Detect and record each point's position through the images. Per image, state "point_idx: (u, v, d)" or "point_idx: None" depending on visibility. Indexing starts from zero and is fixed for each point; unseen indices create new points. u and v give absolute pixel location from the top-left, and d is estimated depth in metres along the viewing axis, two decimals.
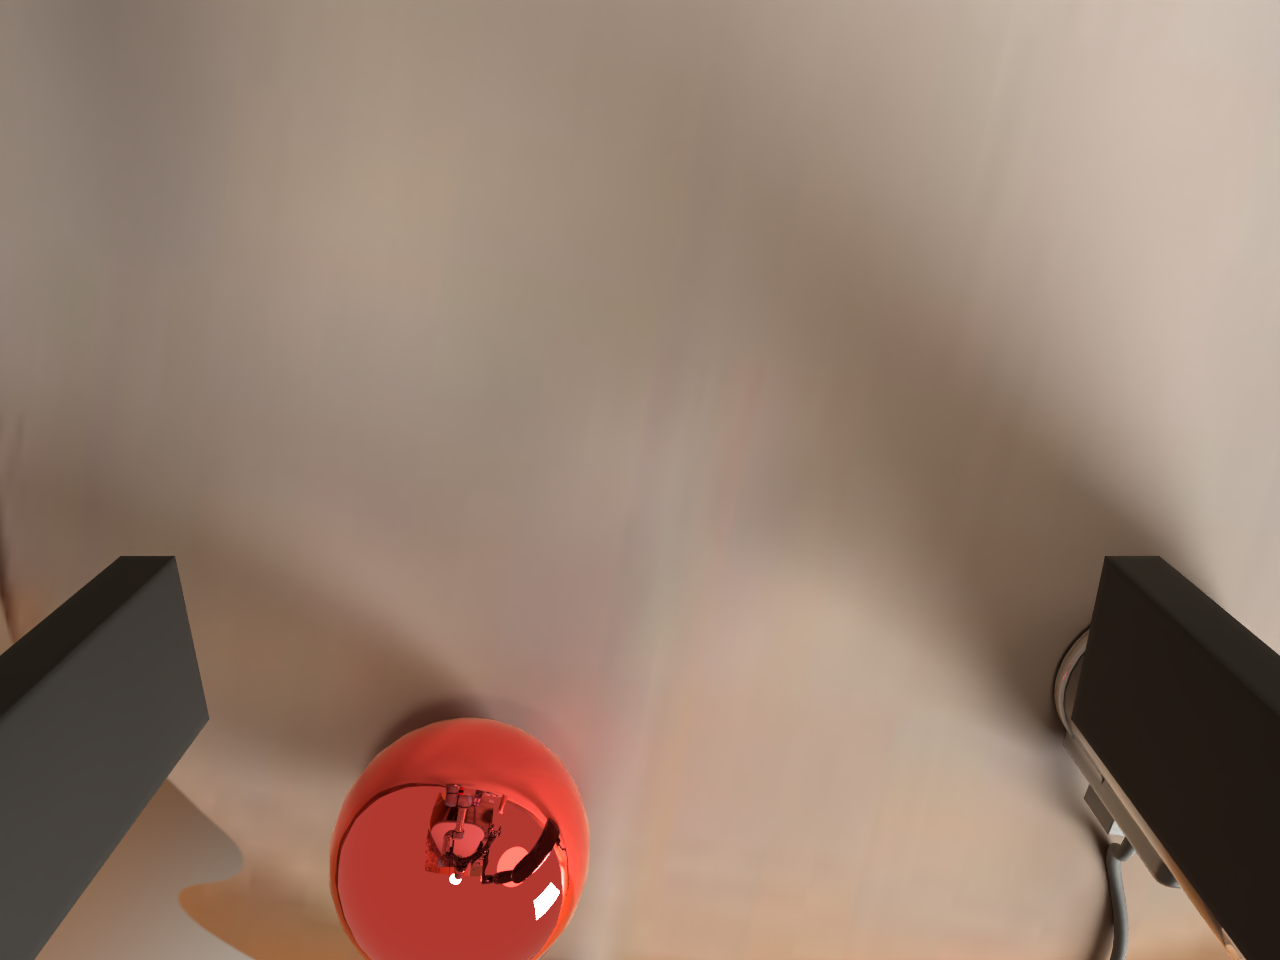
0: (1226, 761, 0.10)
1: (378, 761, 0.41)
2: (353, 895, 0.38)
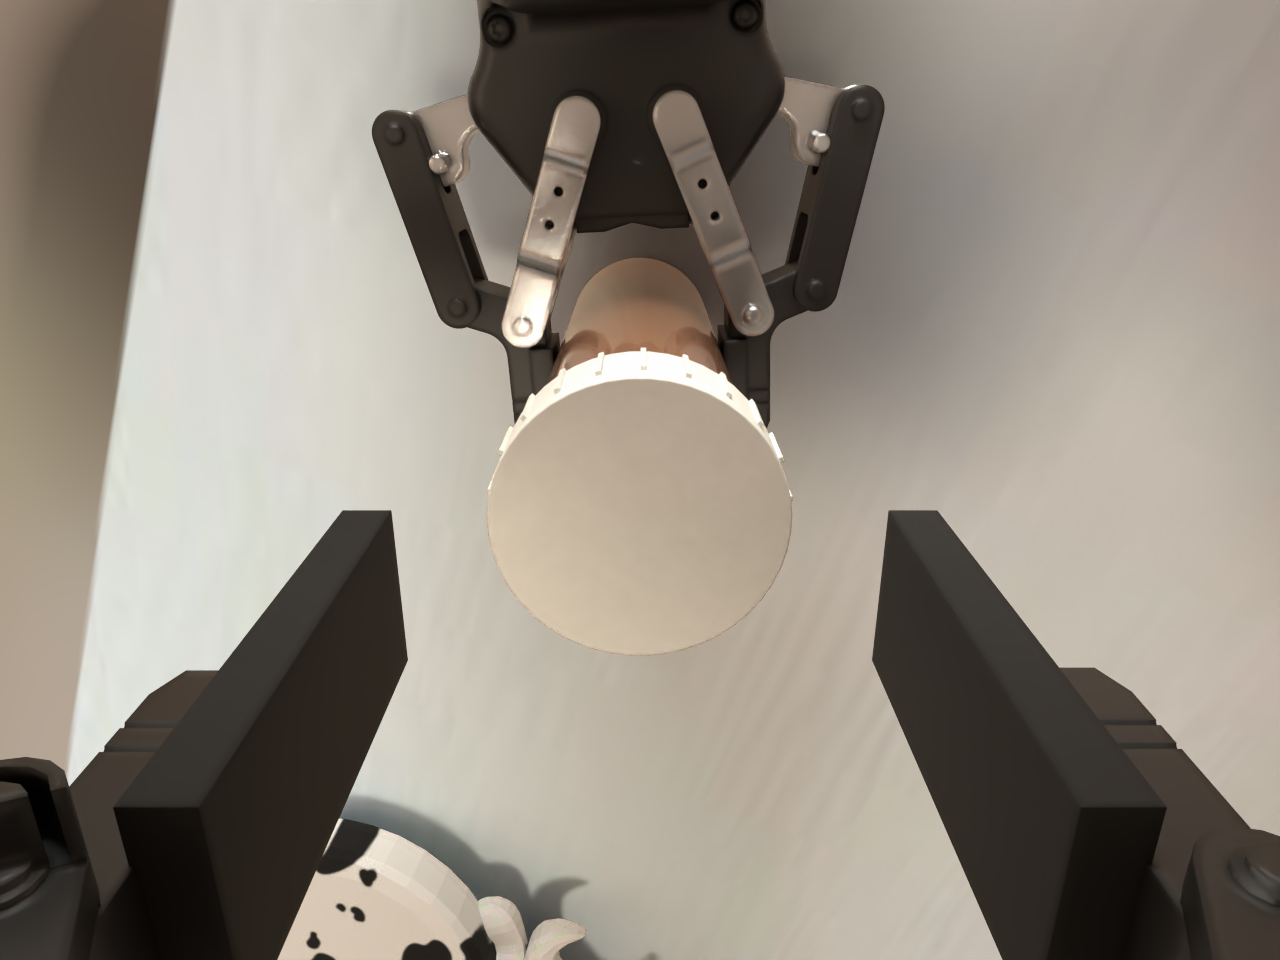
0: (945, 678, 0.11)
1: None
2: None
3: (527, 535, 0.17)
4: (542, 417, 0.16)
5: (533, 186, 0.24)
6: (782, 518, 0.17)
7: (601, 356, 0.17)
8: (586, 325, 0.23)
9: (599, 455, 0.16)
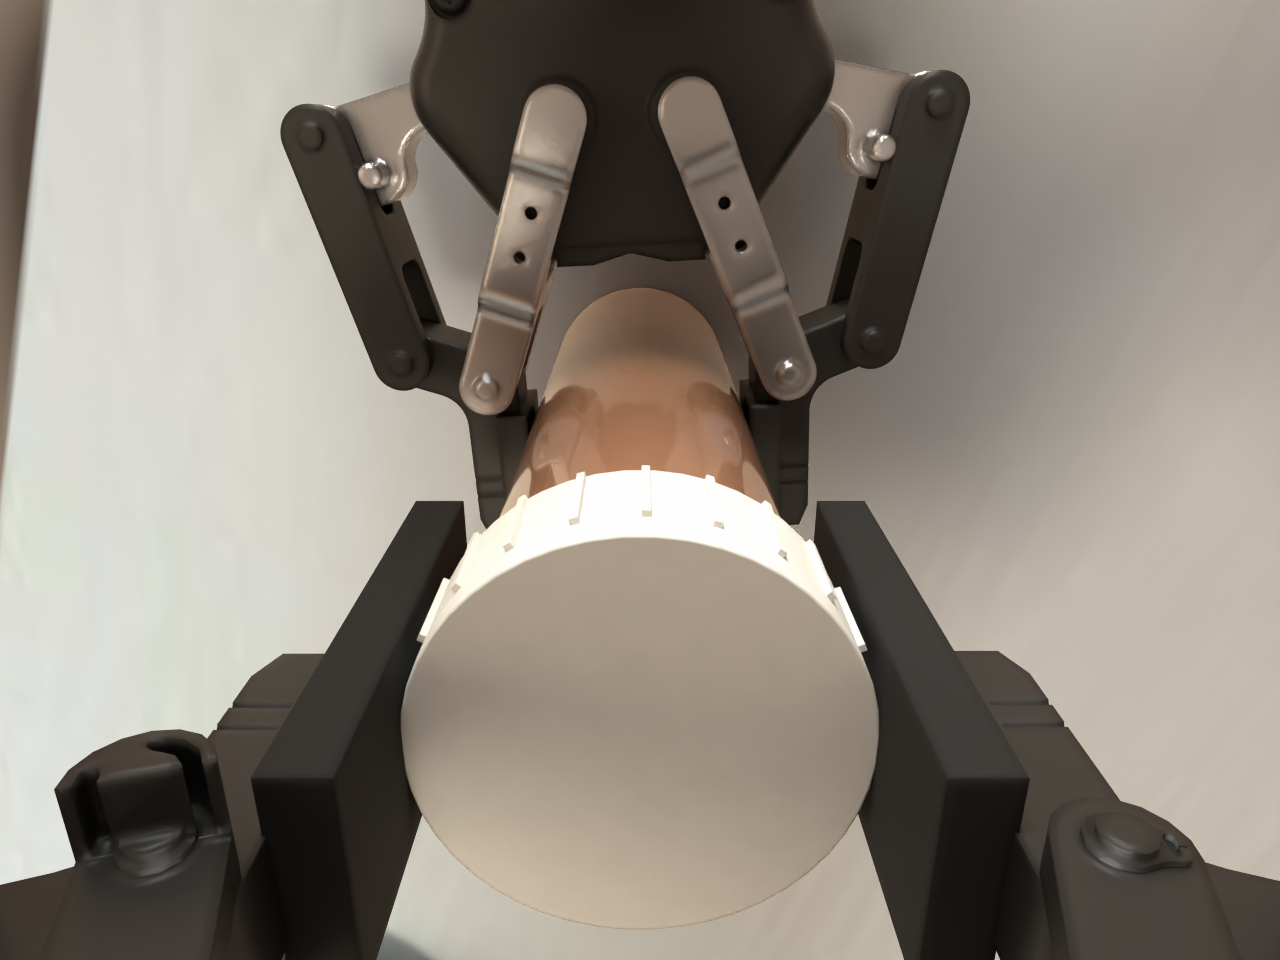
0: None
1: None
2: None
3: (464, 766, 0.11)
4: (484, 595, 0.10)
5: (498, 205, 0.18)
6: (864, 742, 0.11)
7: (581, 481, 0.11)
8: (568, 394, 0.17)
9: (575, 651, 0.10)
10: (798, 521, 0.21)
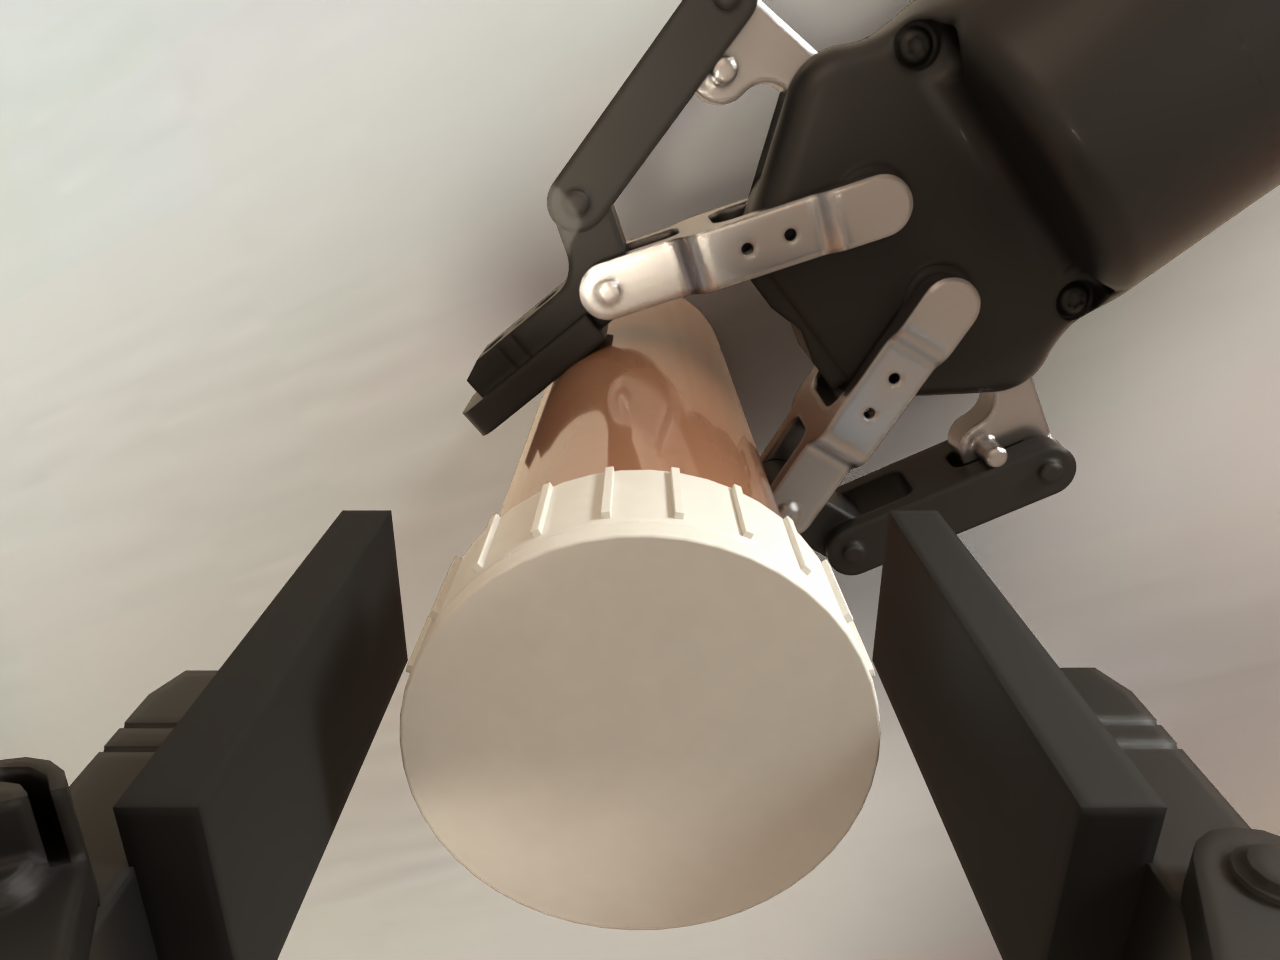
0: (945, 679, 0.11)
1: None
2: None
3: (659, 887, 0.11)
4: (474, 866, 0.11)
5: (769, 198, 0.18)
6: (622, 550, 0.10)
7: None
8: (684, 377, 0.17)
9: (526, 803, 0.11)
10: None
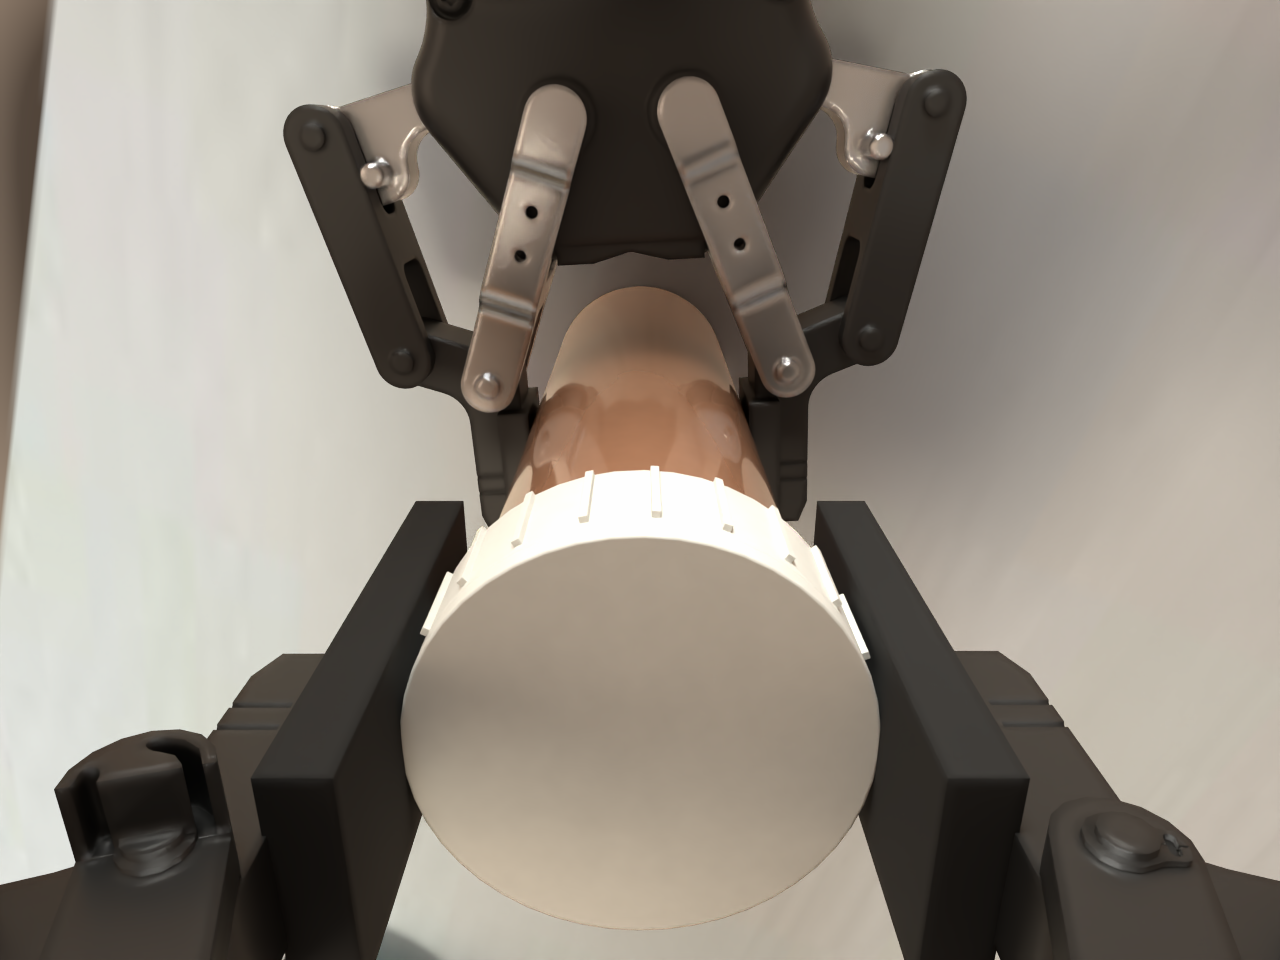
0: None
1: None
2: None
3: (790, 820, 0.11)
4: (656, 923, 0.12)
5: (499, 205, 0.19)
6: (439, 651, 0.10)
7: None
8: (569, 391, 0.18)
9: (624, 855, 0.11)
10: (797, 517, 0.21)
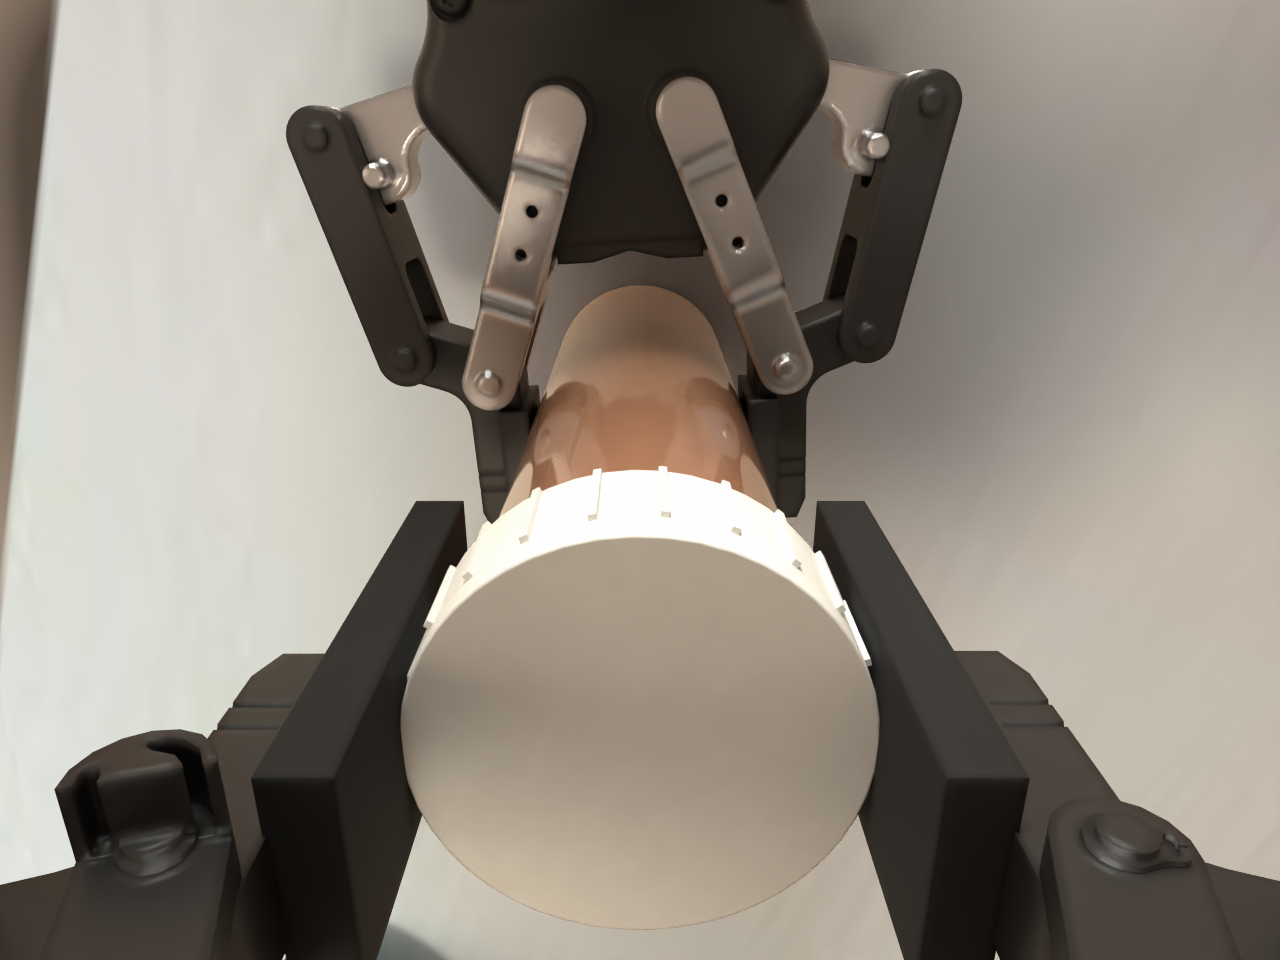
0: None
1: None
2: None
3: (556, 612, 0.10)
4: (766, 577, 0.10)
5: (500, 204, 0.19)
6: (722, 908, 0.11)
7: (828, 567, 0.11)
8: (569, 389, 0.18)
9: (732, 669, 0.10)
10: (796, 513, 0.22)
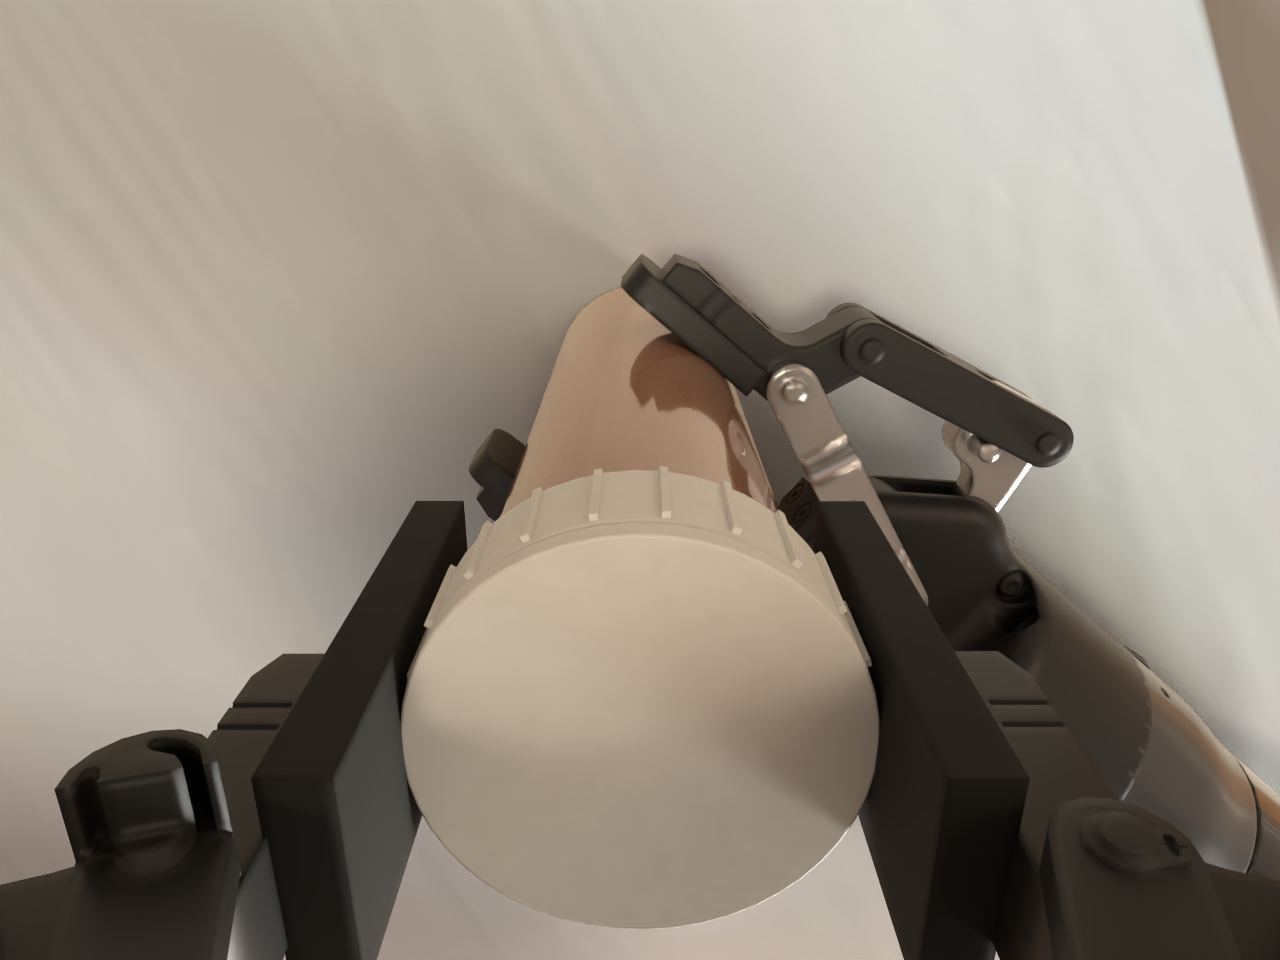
0: None
1: None
2: None
3: (556, 611, 0.10)
4: (767, 577, 0.10)
5: (887, 507, 0.21)
6: (721, 908, 0.11)
7: None
8: None
9: (732, 669, 0.10)
10: (479, 499, 0.22)
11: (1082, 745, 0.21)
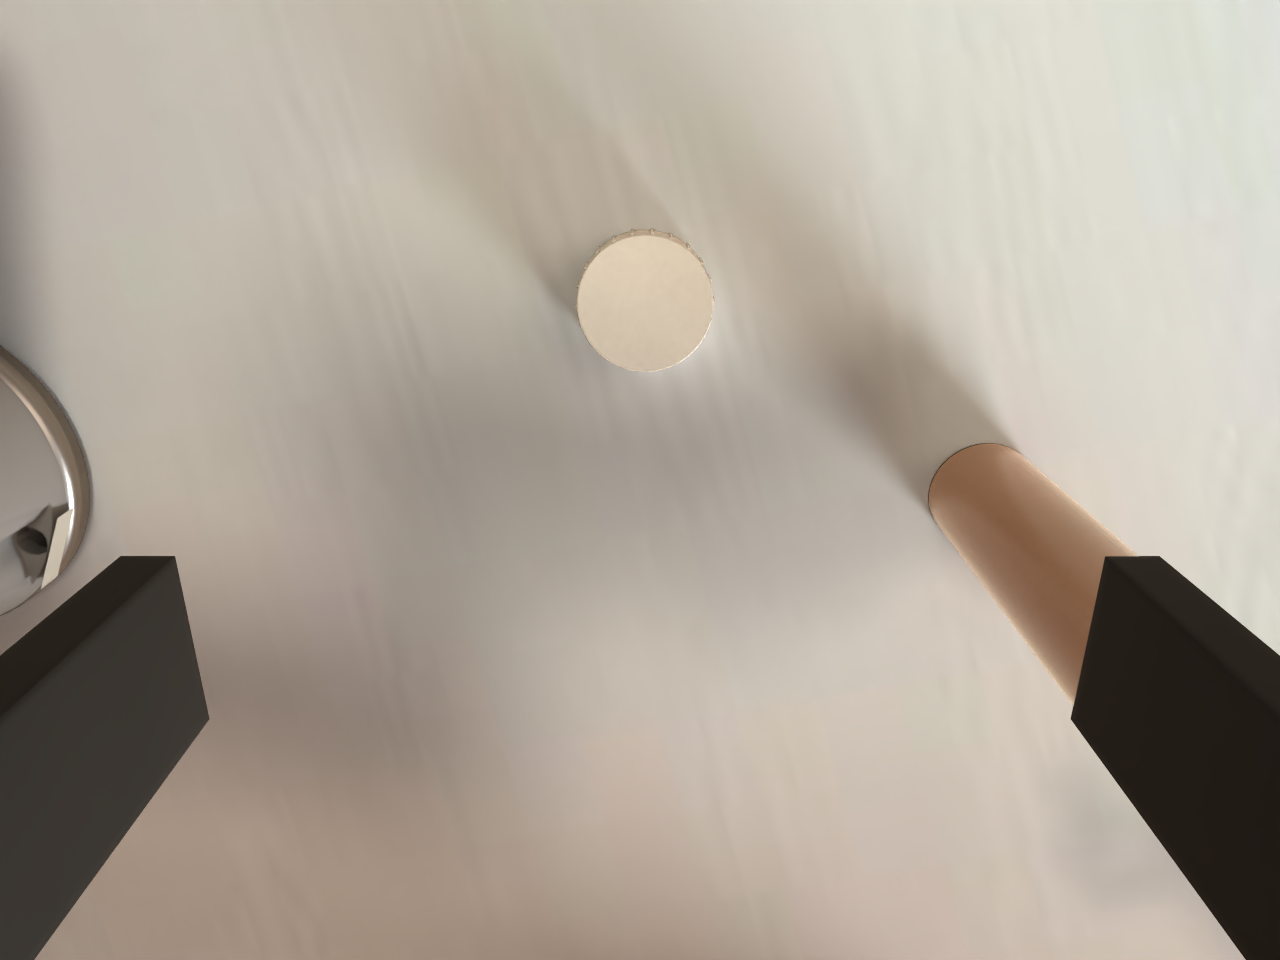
0: (1226, 761, 0.10)
1: None
2: None
3: (622, 259, 0.37)
4: (679, 247, 0.36)
5: None
6: (669, 362, 0.38)
7: (701, 259, 0.38)
8: None
9: (670, 277, 0.37)
10: None
11: None
